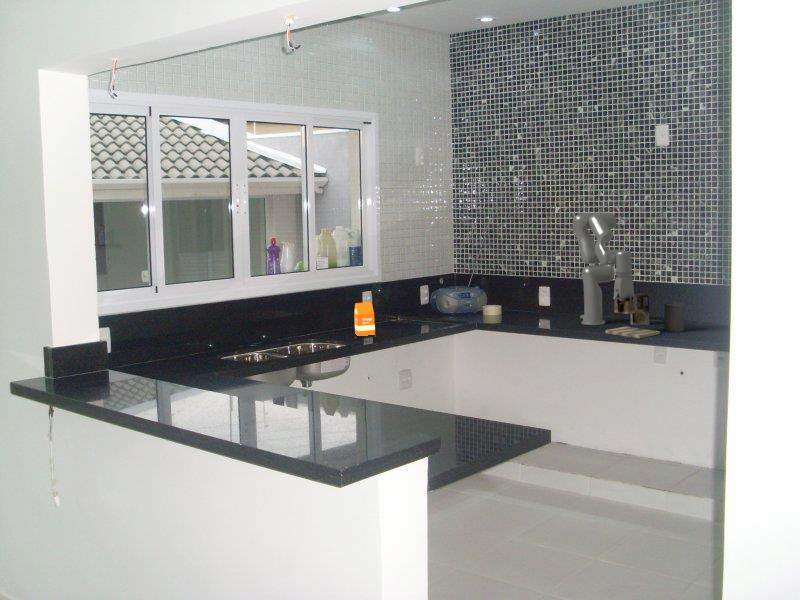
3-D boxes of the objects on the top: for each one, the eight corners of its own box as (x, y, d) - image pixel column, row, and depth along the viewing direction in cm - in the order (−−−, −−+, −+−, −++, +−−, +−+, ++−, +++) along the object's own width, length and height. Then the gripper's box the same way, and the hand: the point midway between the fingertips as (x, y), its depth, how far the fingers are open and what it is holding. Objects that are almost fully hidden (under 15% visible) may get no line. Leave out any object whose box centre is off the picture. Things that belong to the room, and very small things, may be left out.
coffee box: (647, 323, 466) (647, 293, 464) (649, 325, 460) (649, 294, 457) (630, 323, 467) (629, 293, 465) (632, 325, 461) (631, 295, 458)
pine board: (605, 333, 442) (605, 330, 442) (625, 329, 450) (625, 326, 450) (639, 338, 424) (639, 335, 423) (659, 334, 432) (659, 331, 432)
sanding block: (614, 312, 442) (614, 300, 441) (621, 311, 445) (621, 299, 444) (628, 313, 434) (627, 301, 434) (635, 312, 437) (634, 300, 436)
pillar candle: (660, 330, 442) (660, 301, 440) (672, 327, 448) (672, 299, 446) (676, 332, 434) (676, 303, 432) (688, 330, 440) (688, 300, 438)
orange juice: (375, 341, 450) (373, 302, 447) (359, 342, 447) (356, 304, 445) (371, 338, 457) (369, 301, 454) (355, 340, 455) (353, 302, 452)
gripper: (629, 273, 445) (630, 308, 447) (606, 276, 436) (607, 312, 438) (641, 274, 439) (641, 310, 441) (617, 277, 429) (618, 313, 432)
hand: (624, 310), depth 439 cm, fingers closed on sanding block, 5 cm apart
